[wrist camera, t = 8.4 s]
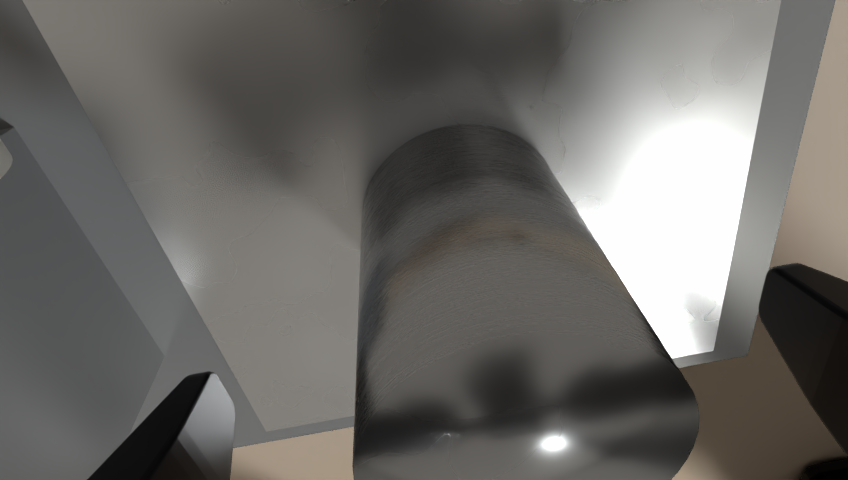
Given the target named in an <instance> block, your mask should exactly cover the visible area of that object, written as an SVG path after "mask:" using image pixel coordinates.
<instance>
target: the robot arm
mask: <svg viewBox="0 0 848 480" xmlns="http://www.w3.org/2000/svg"><path fill="white" fill-rule="evenodd" d="M758 308H759V316H760V318H761V321H762V323H763V325H764V326H765V328H766V330H767V331H768V333H769V335H770V337H771V338H772V340H773V342H774V344H775V345H776V347H777V349H778V351H779V352H780V354H781V356H782V357H783V359H784V361H785V363H786V364H787V366H788V368H789V370H790V371H791V373H792V375H793V376H794V378H795V380H796V382H797V383H798V385H799V387H800V389H801V390H802V392H803V394H804V395H805V397H806V398H807V400H808V402H809V403H810V405H811V406H812V408H813V409H814V411H815V412H816V413H817V415H818V416H819V418H820V419H821V421H822V422H823V423H824V425H825V426H826V428H827V429H828V430H829V432H830V433H831V434H832V436H833V437H834V439H835V440H836V441H837V443H838V444H839V445H840V447H841V448H842V450H843V451H844V452H845V454H846V455H847V456H848V282H847V281H845V280H842V279H840V278H837V277H834V276H832V275H829V274H826V273H824V272H821V271H819V270H816V269H813V268H811V267H808V266H806V265H803V264H798V263H793V264H788V265H782V266H777V267H773V268H771V269H770V270H769V271H768V272H767V274H766V277H765V281H764V285H763V289H762V293H761V297H760V301H759V307H758ZM234 426H235V407H234V404H233V401H232V400H231V398H230V396H229V394H228V393H227V391H226V389H225V388H224V386H223V384H222V383H221V381H220V379H219V377H218V376H217V375H216V374H215V373H214V372H212V371H207V372H201V373H196V374H191V375H188V376H186V377H185V378H184V379H183V380H182V381H181V382H180V383H179V384H178V385H177V386H176V387H175V388H174V389H173V390H172V391H171V392H170V393H169V394H168V395H167V397H166V398H165V399H164V400H163V401H162V402H161V403H160V404H159V405H158V406H157V407H156V408H155V409H154V410H153V411H152V412H151V413H150V414H149V415H148V416H147V417H146V418H145V419H144V421H143V422H142V423H141V424H140V425H139V426H138V427H137V428H136V429H135V430H134V431H133V432H132V433H131V434H130V435H129V436H128V437H127V438H126V439H125V440H124V441H123V442H122V443H121V445H120V446H119V447H118V448H117V449H116V450H115V451H114V452H113V453H112V454H111V455H110V456H109V457H108V458H107V459H106V460H105V461H104V462H103V463H102V464H101V465H100V466H99V468H98V469H97V470H96V471H95V472H94V473H93V474H92V475H91V476H90V477H89V478H88V479H87V480H230V475H231V463H232V450H233V438H234ZM801 480H848V459H846V460H840V461H834V462H828V463H822V464H817V465H813V466H811V467H809V468H807V469H806V470H805V471H804V474H803V476H802V478H801Z"/></svg>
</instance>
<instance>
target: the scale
mask: <svg viewBox="0 0 848 480" xmlns="http://www.w3.org/2000/svg"><path fill="white" fill-rule="evenodd" d="M834 4H835V0H781V4H780V10H779V15H778V20H777V25H776V30H775V35H774V41H773V46H772V51H771V56H770V61H769V66H768V72H767V77H766V82H765V87H764V92H763V97H762V103H761V108H760V113H759V118H758V123H757V128H756V134H755V139H754V144H753V149H752V154H751V159H750V165H749V170H748V175H747V180H746V185H745V190H744V196H743V201H742V206H741V211H740V216H739V221H738V227H737V232H736V237H735V242H734V247H733V252H732V258H731V263H730V268H729V273H728V278H727V283H726V289H725V294H724V299H723V304H722V309H721V314H720V320H719V325H718V330H717V335H716V340H715V345H714V351H710V352H705V353H699V354H694V355H688V356H683V357H677V358H672V359H673V361H674V363H675V364H676V366H677V367H678V368H682V367H687V366H693V365H698V364H704V363H710V362H715V361H721V360H726V359H732V358H737V357H743V356H747V355H748V351H749V347H750V343H751V339H752V335H753V331H754V327H755V323H756V319H757V315H758V311H759V308H758V307H759V301H760V297H761V293H762V289H763V285H764V281H765V277H766V274H767V272H768V270H769V266H770V262H771V258H772V254H773V250H774V246H775V242H776V238H777V234H778V230H779V226H780V222H781V218H782V214H783V210H784V206H785V202H786V198H787V194H788V189H789V185H790V181H791V177H792V173H793V169H794V165H795V161H796V157H797V153H798V149H799V145H800V141H801V137H802V133H803V129H804V125H805V121H806V117H807V113H808V109H809V105H810V101H811V97H812V93H813V88H814V84H815V80H816V76H817V72H818V68H819V64H820V60H821V56H822V52H823V48H824V44H825V40H826V36H827V32H828V28H829V24H830V20H831V16H832V12H833V8H834ZM207 371H212V372H214V373H215V374H216V375H217V376H218V377H219V379H220V381H221V383H222V384H223V386H224V388H225V389H226V391H227V393H228V394H229V396H230V398H231V400H232V401H233V404H234V407H235V426H234V438H233V448H237V447H242V446H248V445H253V444H259V443H264V442H270V441H276V440H281V439H287V438H292V437H298V436H303V435H309V434H315V433H320V432H326V431H331V430H337V429H342V428H348V427H354V416H350V417H345V418H339V419H333V420H328V421H322V422H317V423H311V424H306V425H300V426H295V427H289V428H284V429H278V430H273V431H267V432H266V431H265V429H264V427H263V425H262V424H261V422H260V420H259V418H258V416H257V415H256V413H255V411H254V409H253V408H252V406H251V404H250V402H249V401H248V399H247V397H246V395H245V393H244V392H243V390H242V388H241V386H240V385H239V383H238V381H237V379H236V378H235V376H234V374H233V372H232V370H231V369H230V367H229V365H228V363H227V362H226V360H225V358H224V356H223V355H222V353H221V351H220V349H219V347H218V346H217V344H216V342H215V340H214V339H213V337H212V335H211V333H210V331H209V330H208V328H207V326H206V324H205V323H204V321H203V319H202V317H201V316H200V314H199V312H198V310H197V308H196V307H195V305H194V303H193V301H192V300H191V298H190V296H189V294H188V293H187V291H186V289H185V287H184V285H183V284H182V282H181V280H180V278H179V277H178V275H177V273H176V271H175V270H174V268H173V266H172V264H171V262H170V261H169V259H168V257H167V255H166V254H165V252H164V250H163V248H162V247H161V245H160V243H159V241H158V239H157V238H156V236H155V234H154V232H153V231H152V229H151V227H150V225H149V223H148V222H147V220H146V218H145V216H144V215H143V213H142V211H141V209H140V208H139V206H138V204H137V202H136V200H135V199H134V197H133V195H132V193H131V192H130V190H129V188H128V186H127V185H126V183H125V181H124V179H123V177H122V176H121V174H120V172H119V170H118V169H117V167H116V165H115V163H114V162H113V160H112V158H111V156H110V154H109V153H108V151H107V149H106V147H105V146H104V144H103V142H102V140H101V139H100V137H99V135H98V133H97V131H96V130H95V128H94V126H93V124H92V123H91V121H90V119H89V117H88V116H87V114H86V112H85V110H84V108H83V107H82V105H81V103H80V101H79V100H78V98H77V96H76V94H75V92H74V91H73V89H72V87H71V85H70V84H69V82H68V80H67V78H66V77H65V75H64V73H63V71H62V69H61V68H60V66H59V64H58V62H57V61H56V59H55V57H54V55H53V54H52V52H51V50H50V48H49V46H48V45H47V43H46V41H45V39H44V38H43V36H42V34H41V32H40V31H39V29H38V27H37V25H36V23H35V22H34V20H33V18H32V16H31V15H30V13H29V11H28V9H27V8H26V6H25V4H24V2H23V0H0V480H87V479H88V478H89V477H90V476H91V475H92V474H93V473H94V472H95V471H96V470H97V469H98V468H99V466H100V465H101V464H102V463H103V462H104V461H105V460H106V459H107V458H108V457H109V456H110V455H111V454H112V453H113V452H114V451H115V450H116V449H117V448H118V447H119V446H120V445H121V443H122V442H123V441H124V440H125V439H126V438H127V437H128V436H129V435H130V434H131V433H132V432H133V431H134V430H135V429H136V428H137V427H138V426H139V425H140V424H141V423H142V422H143V421H144V419H145V418H146V417H147V416H148V415H149V414H150V413H151V412H152V411H153V410H154V409H155V408H156V407H157V406H158V405H159V404H160V403H161V402H162V401H163V400H164V399H165V398H166V397H167V395H168V394H169V393H170V392H171V391H172V390H173V389H174V388H175V387H176V386H177V385H178V384H179V383H180V382H181V381H182V380H183V379H184V378H185V377H186V376H188V375H191V374H196V373H201V372H207Z"/></svg>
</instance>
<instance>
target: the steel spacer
mask: <svg viewBox="0 0 848 480" xmlns="http://www.w3.org/2000/svg"><path fill="white" fill-rule="evenodd" d="M698 428H699V410H698V404H697V401H696V398H695V396H694V393H693V391H692V389H691V388H690V386H689V384H688V383H687V381H686V380H685V378H684V377H683V375H682V373H681V372H680V370H679V369H678V367H677V366H676V364H675V363H674V361H673V359H672V358H671V356H670V355H669V353H668V352H667V350H666V348H665V347H664V345H663V344H662V342H661V341H660V339H659V337H658V336H657V334H656V333H655V331H654V330H653V328H652V327H651V325H650V323H649V322H648V320H647V319H646V317H645V316H644V314H643V312H642V311H641V309H640V308H639V306H638V305H637V303H636V302H635V300H634V298H633V297H632V295H631V294H630V292H629V291H628V289H627V287H626V286H625V284H624V283H623V281H622V280H621V278H620V276H619V275H618V273H617V272H616V270H615V269H614V267H613V266H612V264H611V262H610V261H609V259H608V258H607V256H606V255H605V253H604V251H603V250H602V248H601V247H600V245H599V244H598V242H597V241H596V239H595V237H594V236H593V234H592V233H591V231H590V230H589V228H588V226H587V225H586V223H585V222H584V220H583V219H582V217H581V216H580V214H579V212H578V211H577V209H576V208H575V206H574V205H573V203H572V201H571V200H570V198H569V197H568V195H567V194H566V192H565V190H564V189H563V187H562V186H561V184H560V183H559V181H558V180H557V178H556V176H555V175H554V173H553V172H552V170H551V169H550V167H549V166H548V164H547V162H546V161H545V159H544V158H543V157H542V156H541V155H540V153H539V152H538V151H537V150H536V149H535V148H534V147H532V146H531V145H530V144H529V143H528V142H526V141H525V140H523V139H521V138H520V137H518V136H516V135H515V134H512V133H510V132H507V131H505V130H503V129H499V128H495V127H491V126H485V125H477V124H460V125H452V126H446V127H442V128H438V129H434V130H431V131H428V132H426V133H423V134H421V135H419V136H417V137H415V138H413V139H411V140H409V141H408V142H406V143H405V144H403V145H402V146H401V147H399V148H398V149H396V150H395V151H394V152H393V153H392V154H391V155H390V156H389V157H388V158H387V159H386V160H385V161H384V162H383V163H382V164H381V166H380V167H379V168H378V169H377V171H376V173H375V174H374V176H373V178H372V179H371V181H370V183H369V186H368V188H367V190H366V193H365V197H364V201H363V207H362V219H361V247H360V275H359V303H358V331H357V359H356V387H355V414H354V442H353V475H354V480H671V479H672V478H673V477H674V476H675V475H676V474H677V473H678V471H679V470H680V468H681V467H682V466H683V464H684V463H685V461H686V460H687V458H688V456H689V454H690V452H691V451H692V449H693V447H694V444H695V441H696V437H697V434H698Z"/></svg>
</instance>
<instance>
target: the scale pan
mask: <svg viewBox="0 0 848 480" xmlns="http://www.w3.org/2000/svg"><path fill="white" fill-rule="evenodd" d="M23 2H24V4H25V6H26V8H27V9H28V11H29V13H30V15H31V16H32V18H33V20H34V22H35V23H36V25H37V27H38V29H39V31H40V32H41V34H42V36H43V38H44V39H45V41H46V43H47V45H48V46H49V48H50V50H51V52H52V54H53V55H54V57H55V59H56V61H57V62H58V64H59V66H60V68H61V69H62V71H63V73H64V75H65V77H66V78H67V80H68V82H69V84H70V85H71V87H72V89H73V91H74V92H75V94H76V96H77V98H78V100H79V101H80V103H81V105H82V107H83V108H84V110H85V112H86V114H87V116H88V117H89V119H90V121H91V123H92V124H93V126H94V128H95V130H96V131H97V133H98V135H99V137H100V139H101V140H102V142H103V144H104V146H105V147H106V149H107V151H108V153H109V154H110V156H111V158H112V160H113V162H114V163H115V165H116V167H117V169H118V170H119V172H120V174H121V176H122V177H123V179H124V181H125V183H126V185H127V186H128V188H129V190H130V192H131V193H132V195H133V197H134V199H135V200H136V202H137V204H138V206H139V208H140V209H141V211H142V213H143V215H144V216H145V218H146V220H147V222H148V223H149V225H150V227H151V229H152V231H153V232H154V234H155V236H156V238H157V239H158V241H159V243H160V245H161V247H162V248H163V250H164V252H165V254H166V255H167V257H168V259H169V261H170V262H171V264H172V266H173V268H174V270H175V271H176V273H177V275H178V277H179V278H180V280H181V282H182V284H183V285H184V287H185V289H186V291H187V293H188V294H189V296H190V298H191V300H192V301H193V303H194V305H195V307H196V308H197V310H198V312H199V314H200V316H201V317H202V319H203V321H204V323H205V324H206V326H207V328H208V330H209V331H210V333H211V335H212V337H213V339H214V340H215V342H216V344H217V346H218V347H219V349H220V351H221V353H222V355H223V356H224V358H225V360H226V362H227V363H228V365H229V367H230V369H231V370H232V372H233V374H234V376H235V378H236V379H237V381H238V383H239V385H240V386H241V388H242V390H243V392H244V393H245V395H246V397H247V399H248V401H249V402H250V404H251V406H252V408H253V409H254V411H255V413H256V415H257V416H258V418H259V420H260V422H261V424H262V425H263V427H264V429H265V431H266V432H267V431H273V430H278V429H284V428H289V427H295V426H300V425H306V424H311V423H317V422H322V421H328V420H333V419H339V418H345V417H350V416H354V414H355V387H356V359H357V331H358V303H359V275H360V247H361V219H362V207H363V201H364V197H365V193H366V190H367V188H368V186H369V183H370V181H371V179H372V178H373V176H374V174H375V173H376V171H377V169H378V168H379V167H380V166H381V164H382V163H383V162H384V161H385V160H386V159H387V158H388V157H389V156H390V155H391V154H392V153H393V152H394V151H395V150H396V149H398V148H399V147H401V146H402V145H403V144H405V143H406V142H408V141H409V140H411V139H413V138H415V137H417V136H419V135H421V134H423V133H426V132H428V131H431V130H434V129H438V128H442V127H446V126H452V125H460V124H477V125H485V126H491V127H495V128H499V129H503V130H505V131H507V132H510V133H512V134H515V135H516V136H518V137H520V138H521V139H523V140H525V141H526V142H528V143H529V144H530V145H531V146H532V147H534V148H535V149H536V150H537V151H538V152H539V153H540V155H541V156H542V157H543V158H544V159H545V161H546V162H547V164H548V166H549V167H550V169H551V170H552V172H553V173H554V175H555V176H556V178H557V180H558V181H559V183H560V184H561V186H562V187H563V189H564V190H565V192H566V194H567V195H568V197H569V198H570V200H571V201H572V203H573V205H574V206H575V208H576V209H577V211H578V212H579V214H580V216H581V217H582V219H583V220H584V222H585V223H586V225H587V226H588V228H589V230H590V231H591V233H592V234H593V236H594V237H595V239H596V241H597V242H598V244H599V245H600V247H601V248H602V250H603V251H604V253H605V255H606V256H607V258H608V259H609V261H610V262H611V264H612V266H613V267H614V269H615V270H616V272H617V273H618V275H619V276H620V278H621V280H622V281H623V283H624V284H625V286H626V287H627V289H628V291H629V292H630V294H631V295H632V297H633V298H634V300H635V302H636V303H637V305H638V306H639V308H640V309H641V311H642V312H643V314H644V316H645V317H646V319H647V320H648V322H649V323H650V325H651V327H652V328H653V330H654V331H655V333H656V334H657V336H658V337H659V339H660V341H661V342H662V344H663V345H664V347H665V348H666V350H667V352H668V353H669V355H670V356H671V358H677V357H683V356H688V355H694V354H699V353H705V352H710V351H714V345H715V340H716V335H717V330H718V325H719V320H720V314H721V309H722V304H723V299H724V294H725V289H726V283H727V278H728V273H729V268H730V263H731V258H732V252H733V247H734V242H735V237H736V232H737V227H738V221H739V216H740V211H741V206H742V201H743V196H744V190H745V185H746V180H747V175H748V170H749V165H750V159H751V154H752V149H753V144H754V139H755V134H756V128H757V123H758V118H759V113H760V108H761V103H762V97H763V92H764V87H765V82H766V77H767V72H768V66H769V61H770V56H771V51H772V46H773V41H774V35H775V30H776V25H777V20H778V15H779V10H780V4H781V0H23Z"/></svg>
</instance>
